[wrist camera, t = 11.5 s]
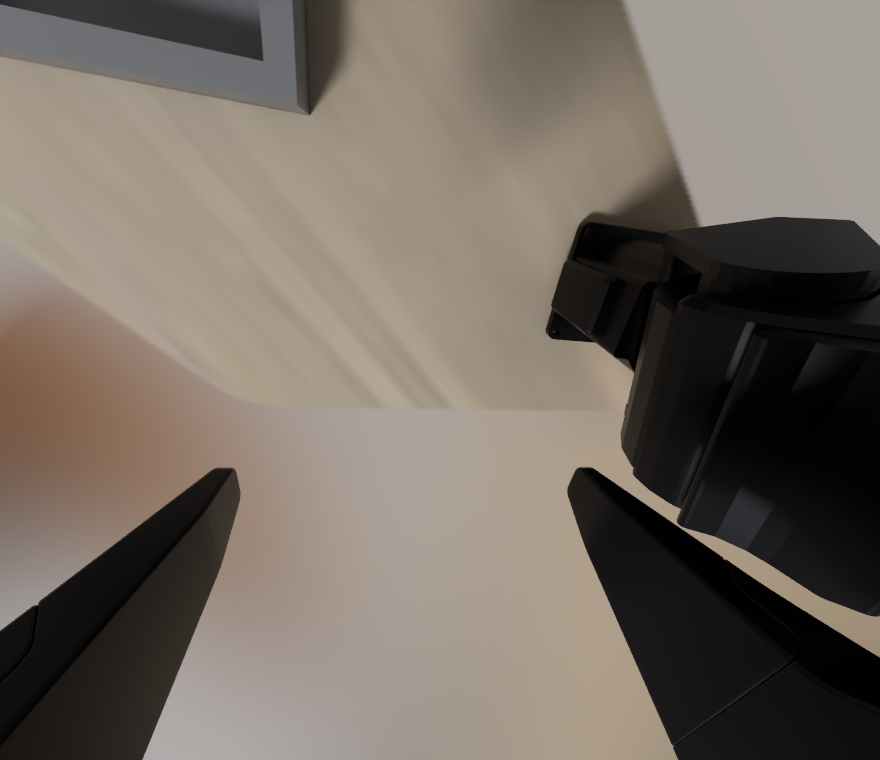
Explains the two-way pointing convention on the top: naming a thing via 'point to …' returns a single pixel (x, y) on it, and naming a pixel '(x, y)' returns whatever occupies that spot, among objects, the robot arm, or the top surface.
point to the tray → (171, 44)
